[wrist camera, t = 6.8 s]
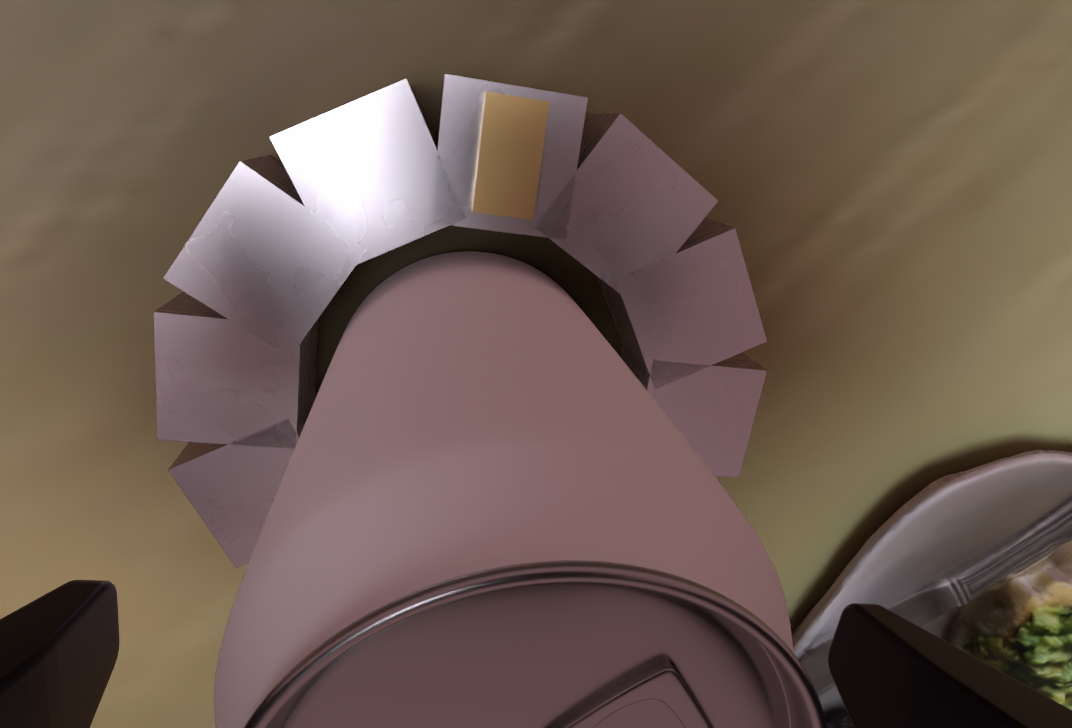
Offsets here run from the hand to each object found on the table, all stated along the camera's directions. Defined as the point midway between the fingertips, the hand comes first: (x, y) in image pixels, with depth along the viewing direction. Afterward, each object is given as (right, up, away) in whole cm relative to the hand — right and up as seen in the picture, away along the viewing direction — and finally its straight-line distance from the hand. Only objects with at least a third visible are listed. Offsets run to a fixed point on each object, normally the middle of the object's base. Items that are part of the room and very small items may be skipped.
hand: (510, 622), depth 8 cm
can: (-1, +3, +9) cm, 10 cm away
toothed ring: (-1, +3, +9) cm, 10 cm away
